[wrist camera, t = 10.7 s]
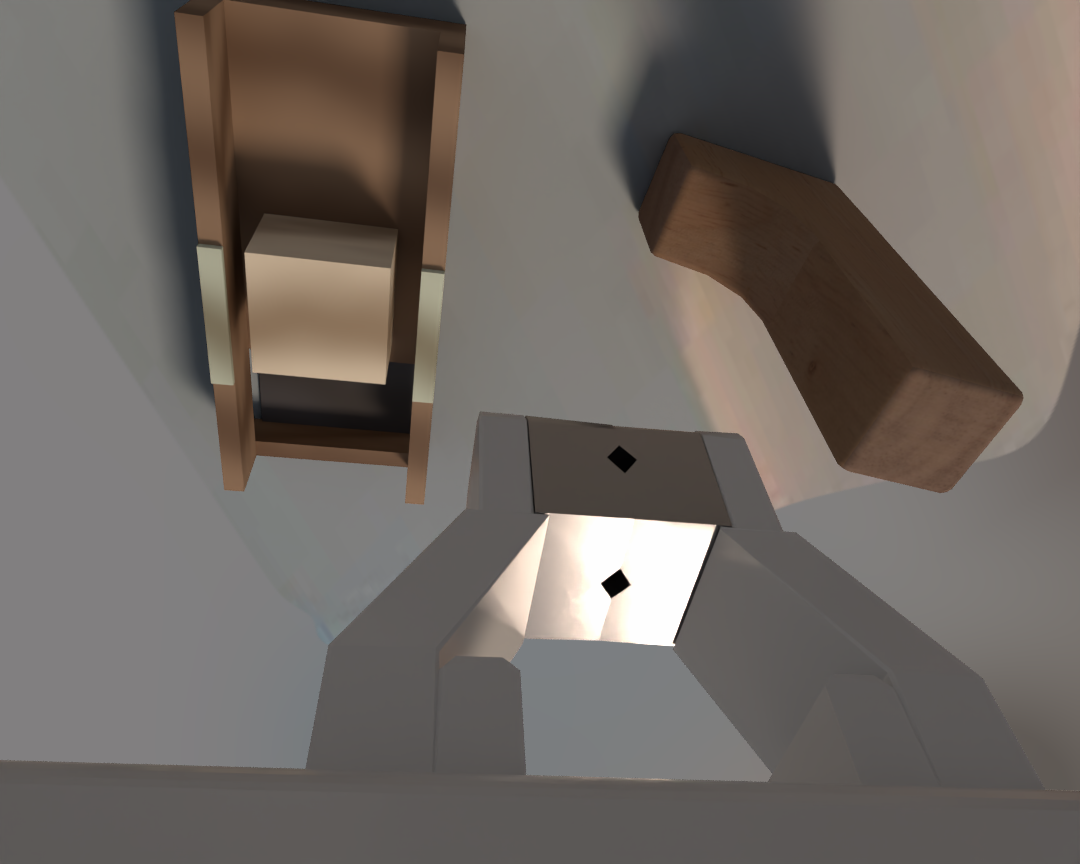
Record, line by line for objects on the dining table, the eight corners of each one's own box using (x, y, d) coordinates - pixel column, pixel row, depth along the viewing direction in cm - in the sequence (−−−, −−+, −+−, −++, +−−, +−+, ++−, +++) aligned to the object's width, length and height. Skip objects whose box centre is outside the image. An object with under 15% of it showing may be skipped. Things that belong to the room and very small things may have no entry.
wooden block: (634, 216, 41) (715, 444, 27) (671, 127, 38) (782, 327, 24) (794, 264, 43) (949, 499, 29) (839, 183, 40) (1034, 397, 26)
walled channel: (210, -15, 34) (171, 13, 29) (466, 24, 35) (464, 56, 31) (245, 431, 47) (222, 493, 43) (428, 446, 49) (423, 508, 45)
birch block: (264, 213, 38) (244, 252, 34) (398, 229, 38) (390, 268, 35) (270, 327, 41) (252, 372, 38) (392, 339, 42) (385, 384, 39)
